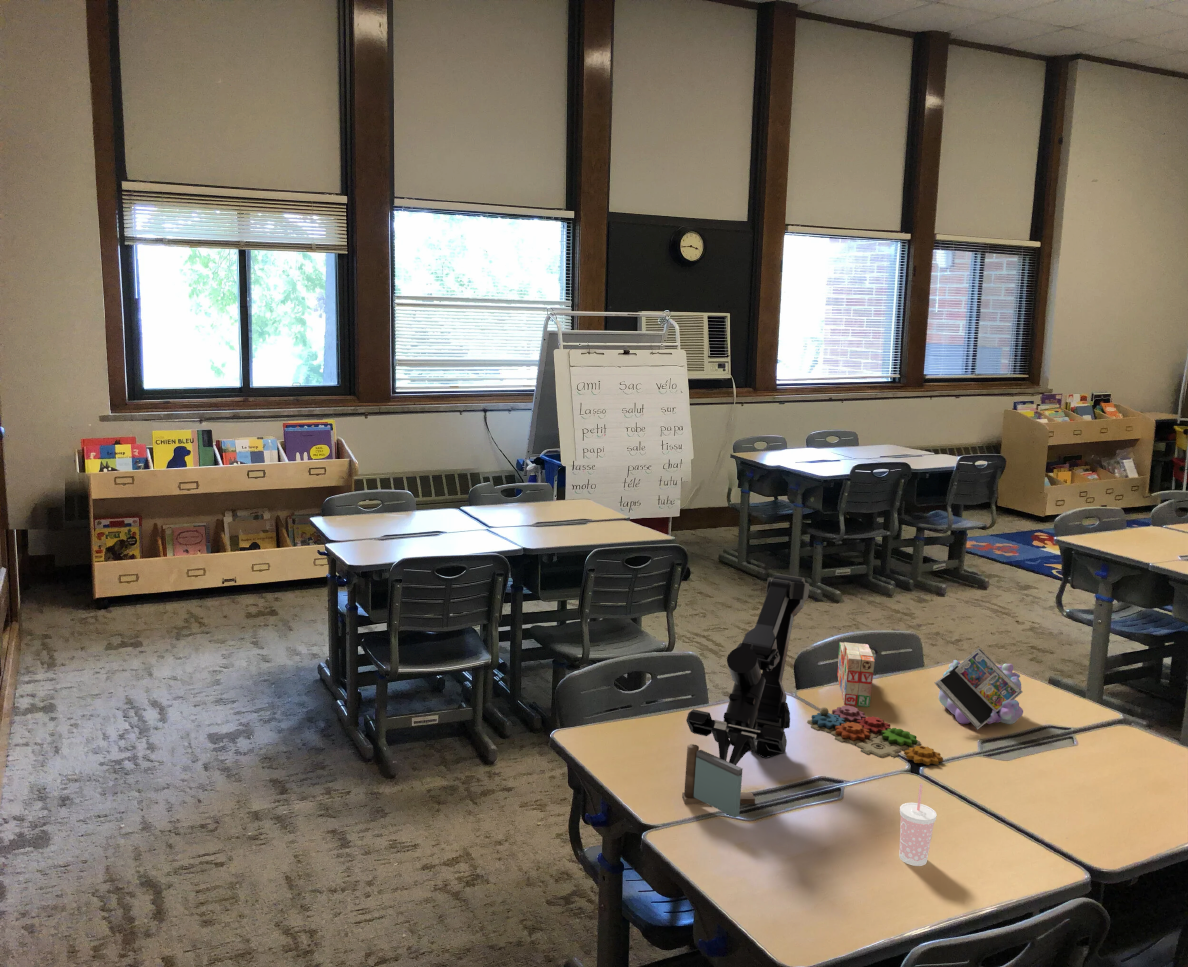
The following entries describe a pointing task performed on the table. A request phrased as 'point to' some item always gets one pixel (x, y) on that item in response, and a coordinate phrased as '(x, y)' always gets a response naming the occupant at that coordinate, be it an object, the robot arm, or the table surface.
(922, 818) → the beverage cup
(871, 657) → the stack of blocks
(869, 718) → the gear puzzle
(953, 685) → the bubbly comic picture frame
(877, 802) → the table surface
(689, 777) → the brown l-shaped piece
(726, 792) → the panel
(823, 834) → the table surface
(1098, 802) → the table surface
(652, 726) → the table surface
